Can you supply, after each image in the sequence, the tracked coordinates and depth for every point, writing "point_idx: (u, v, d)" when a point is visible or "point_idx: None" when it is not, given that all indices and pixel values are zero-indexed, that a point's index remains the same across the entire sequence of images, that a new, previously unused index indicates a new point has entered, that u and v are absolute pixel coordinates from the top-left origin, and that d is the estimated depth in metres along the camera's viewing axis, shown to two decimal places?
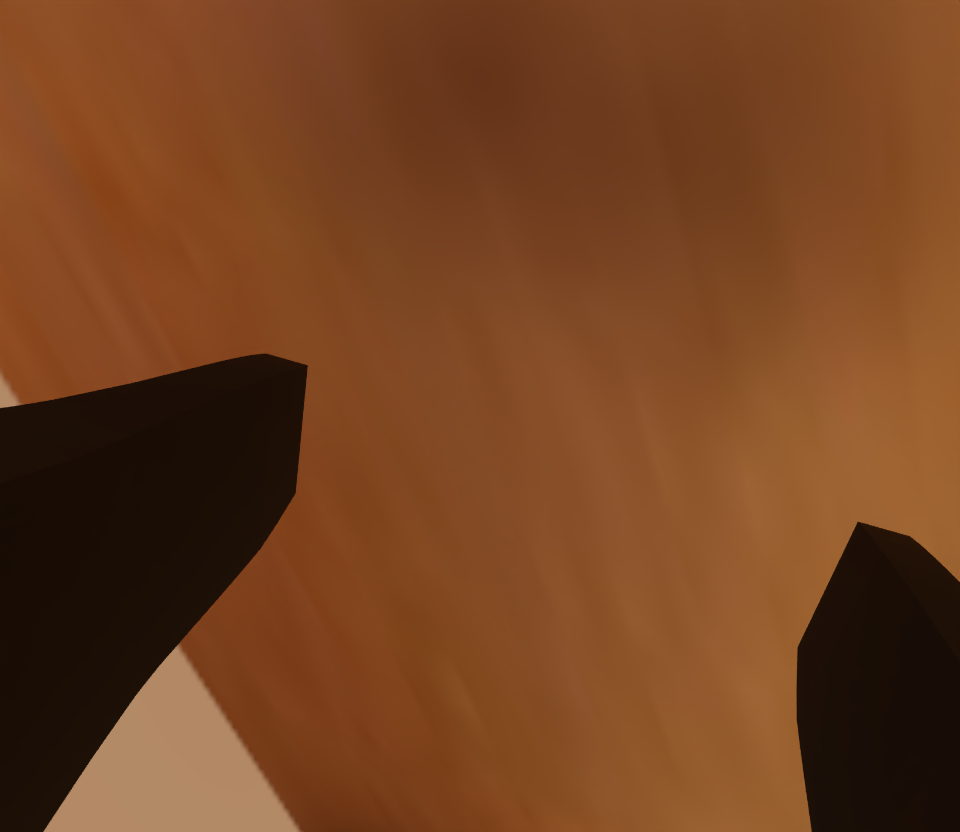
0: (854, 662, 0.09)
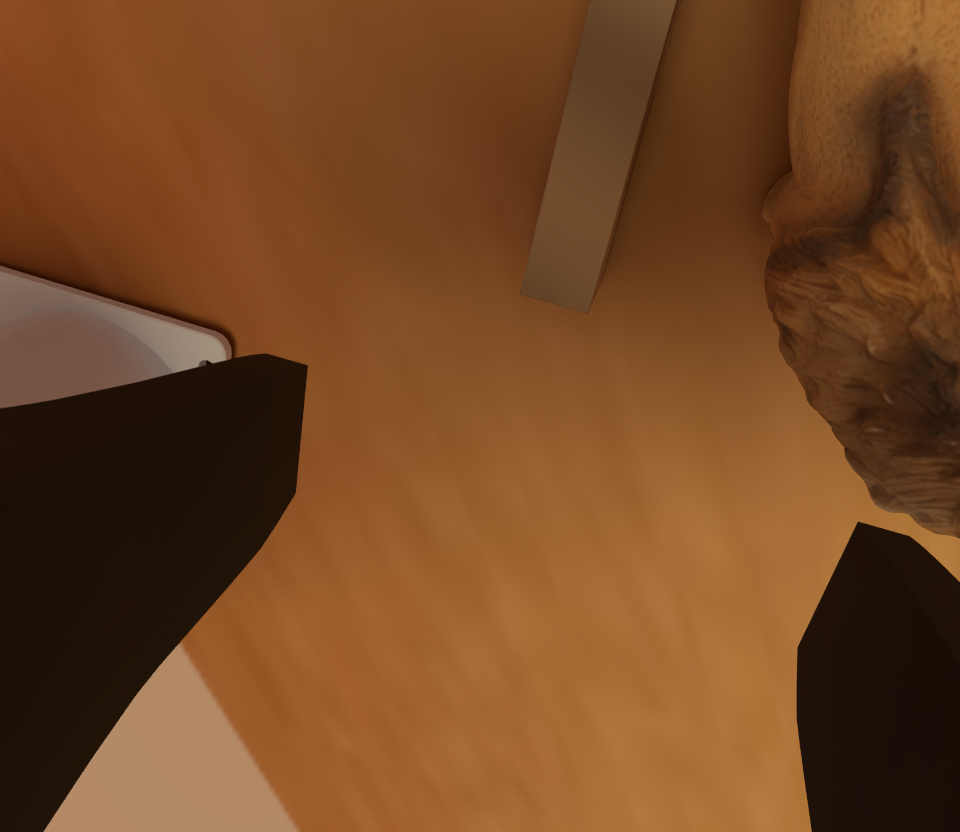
0: (854, 662, 0.09)
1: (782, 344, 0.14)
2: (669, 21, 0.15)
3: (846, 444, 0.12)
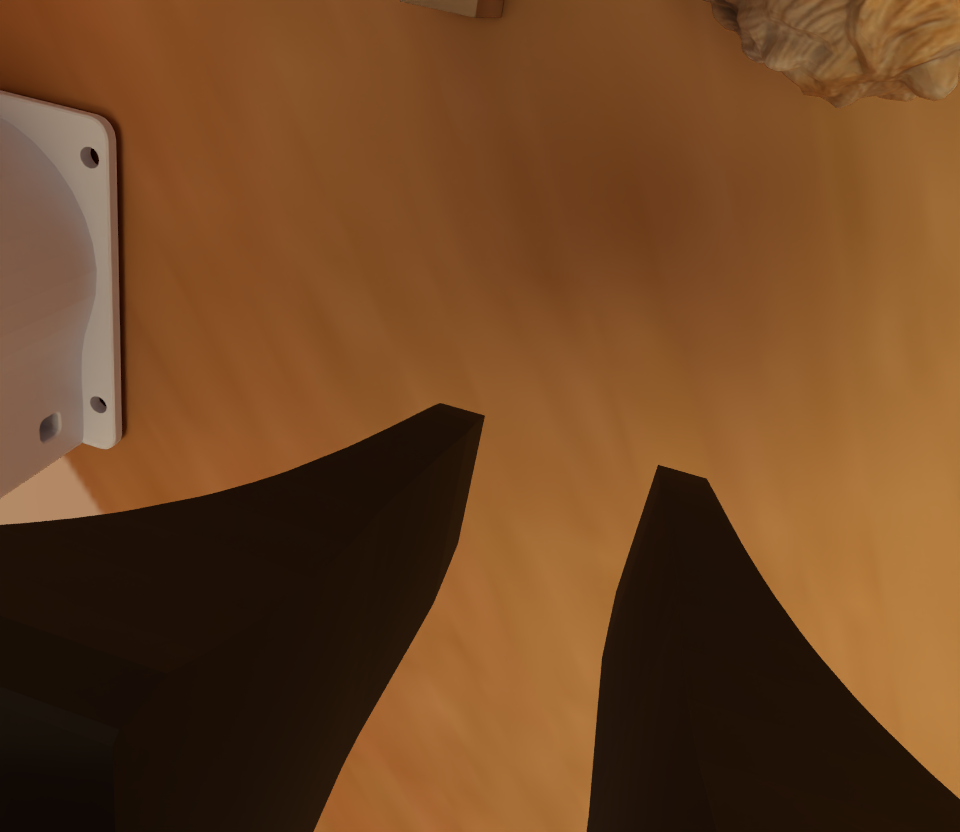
0: (633, 594, 0.09)
1: None
2: None
3: None
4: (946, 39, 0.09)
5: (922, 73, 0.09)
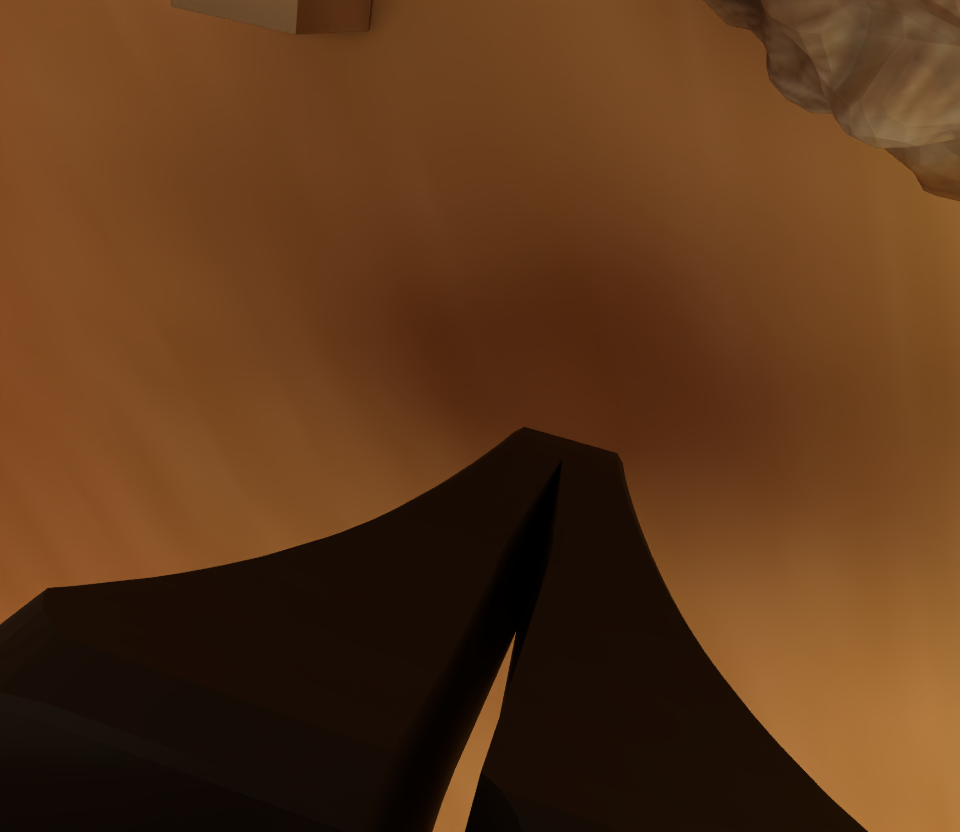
0: (536, 565, 0.09)
1: None
2: None
3: None
4: None
5: None
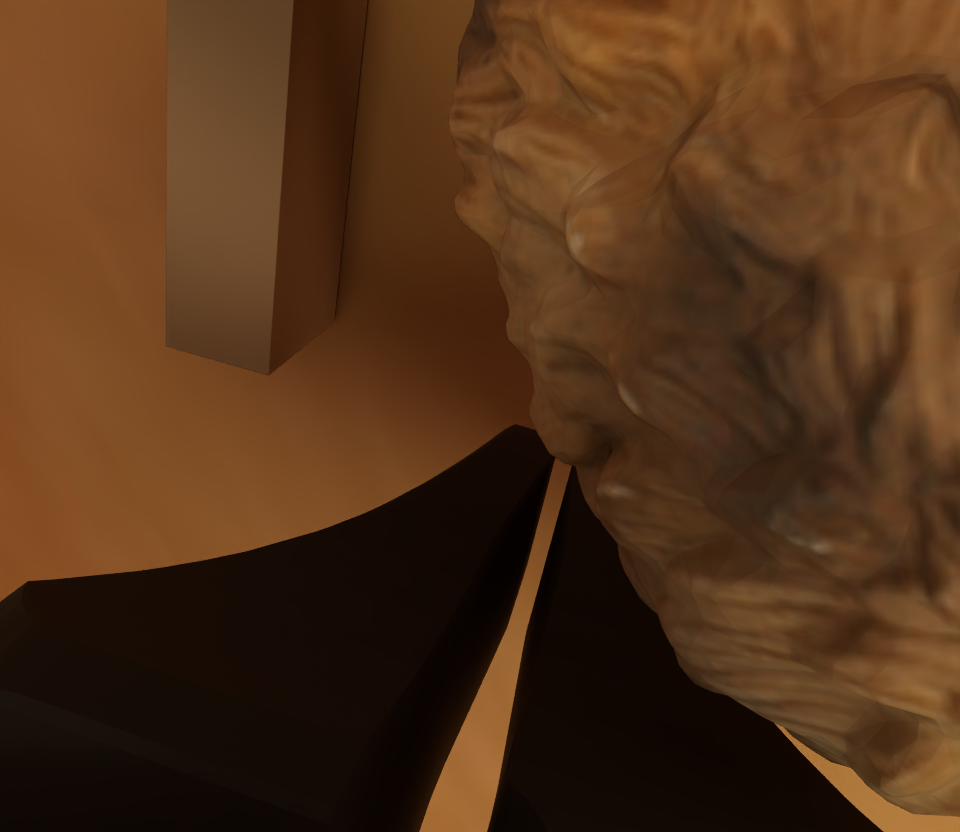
0: (547, 568, 0.09)
1: None
2: None
3: None
4: None
5: None
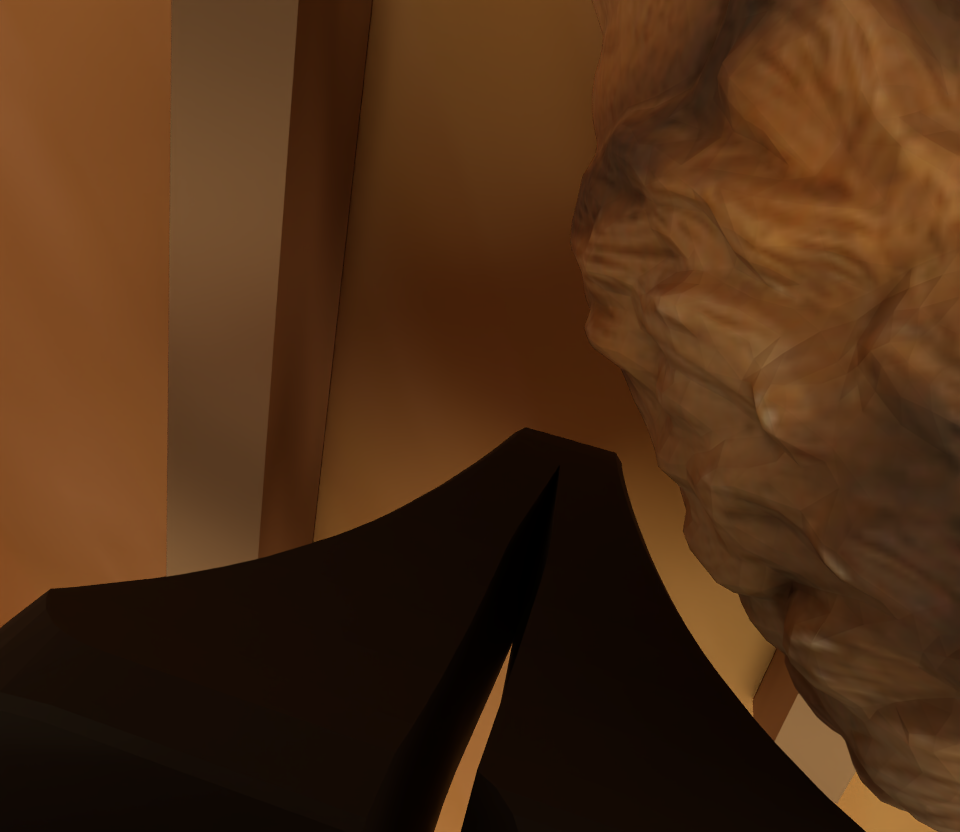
0: (534, 564, 0.09)
1: None
2: (265, 439, 0.12)
3: None
4: None
5: None
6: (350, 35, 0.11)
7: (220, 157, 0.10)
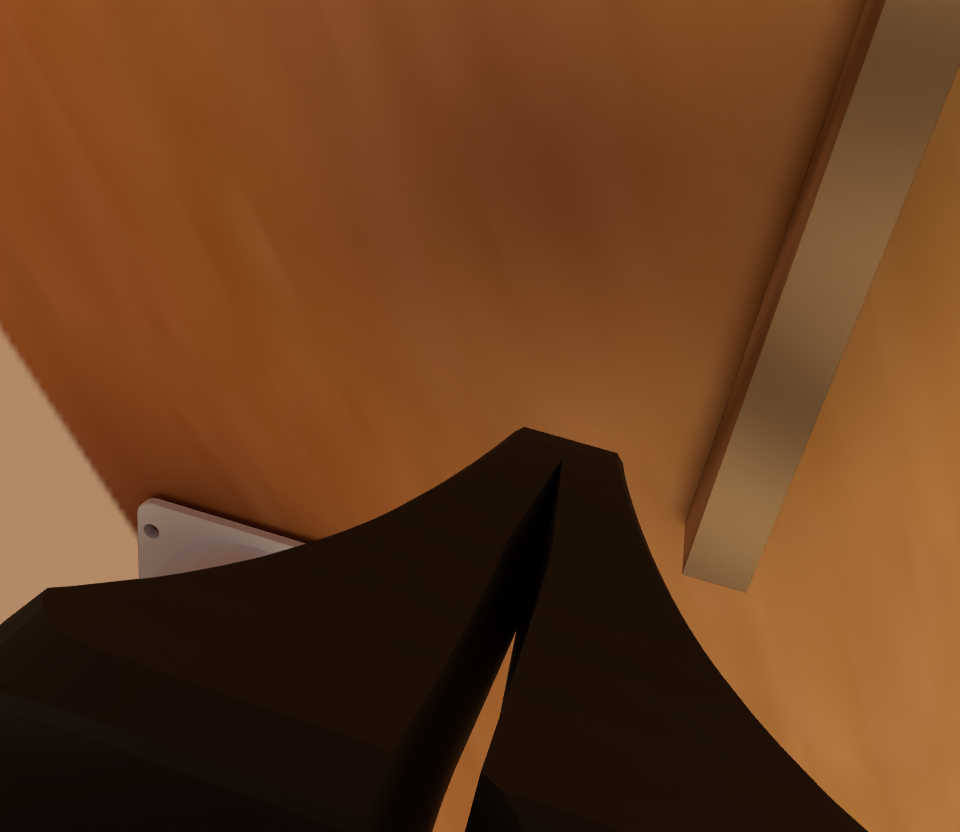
0: (536, 565, 0.09)
1: None
2: (833, 373, 0.17)
3: None
4: None
5: None
6: None
7: (860, 184, 0.15)
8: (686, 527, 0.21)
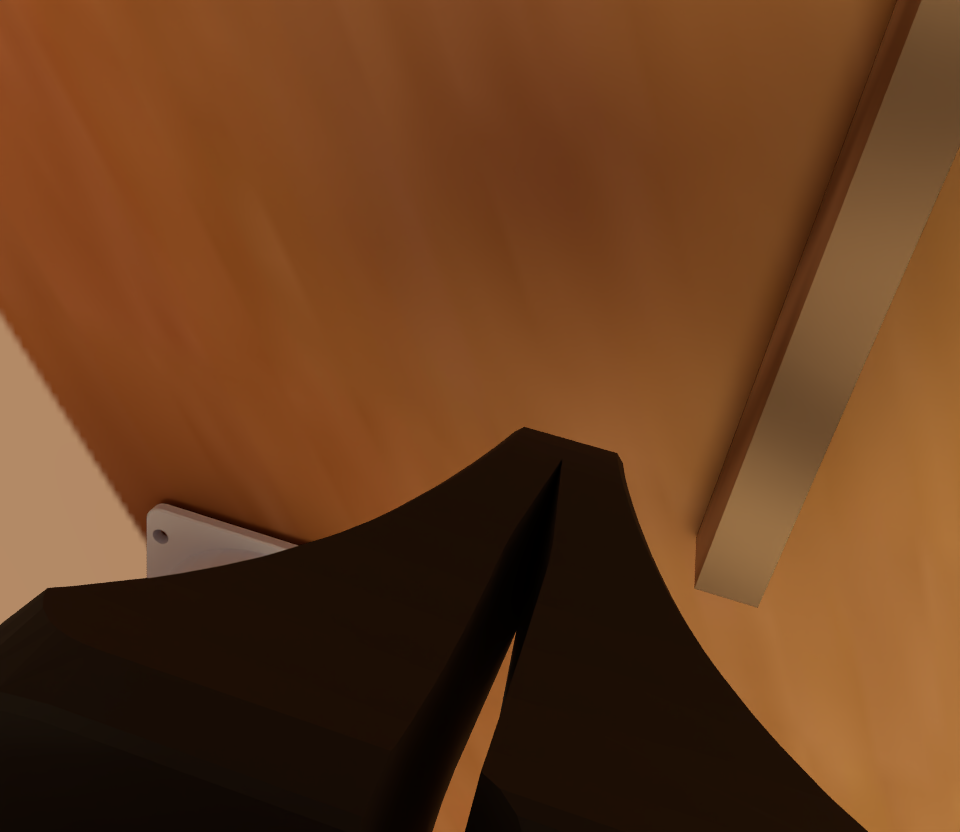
0: (536, 564, 0.09)
1: None
2: (850, 393, 0.17)
3: None
4: None
5: None
6: None
7: (881, 206, 0.15)
8: (697, 540, 0.21)
